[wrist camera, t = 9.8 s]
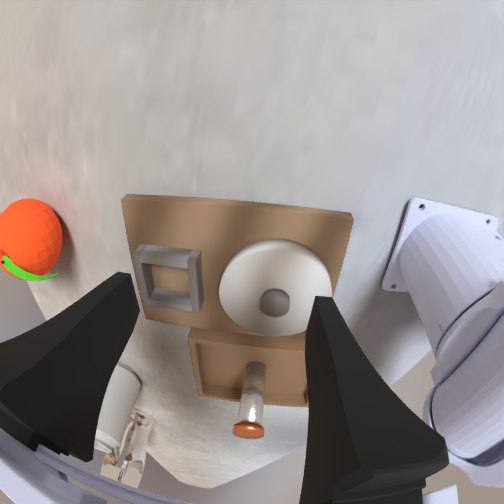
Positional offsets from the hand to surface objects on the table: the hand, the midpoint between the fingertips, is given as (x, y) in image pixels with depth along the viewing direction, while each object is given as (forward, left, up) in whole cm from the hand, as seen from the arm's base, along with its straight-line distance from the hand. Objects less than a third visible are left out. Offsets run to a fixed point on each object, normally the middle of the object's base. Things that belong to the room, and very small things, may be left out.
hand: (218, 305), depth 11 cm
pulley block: (+1, +6, -10) cm, 12 cm away
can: (+17, +26, -10) cm, 33 cm away
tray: (-2, +18, -10) cm, 21 cm away
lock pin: (-2, +18, -9) cm, 20 cm away
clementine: (+18, +3, -10) cm, 21 cm away
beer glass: (+18, +42, -10) cm, 47 cm away
